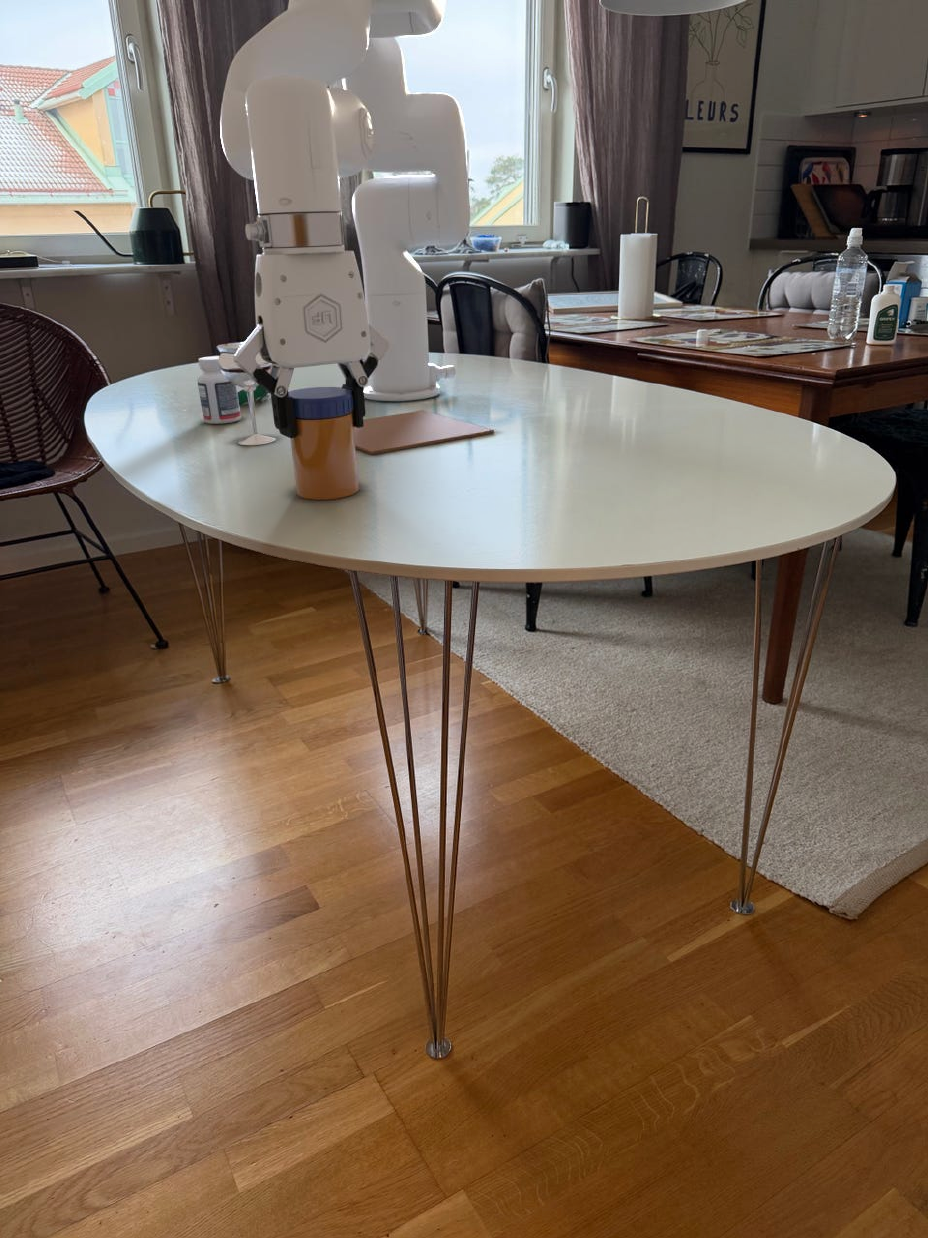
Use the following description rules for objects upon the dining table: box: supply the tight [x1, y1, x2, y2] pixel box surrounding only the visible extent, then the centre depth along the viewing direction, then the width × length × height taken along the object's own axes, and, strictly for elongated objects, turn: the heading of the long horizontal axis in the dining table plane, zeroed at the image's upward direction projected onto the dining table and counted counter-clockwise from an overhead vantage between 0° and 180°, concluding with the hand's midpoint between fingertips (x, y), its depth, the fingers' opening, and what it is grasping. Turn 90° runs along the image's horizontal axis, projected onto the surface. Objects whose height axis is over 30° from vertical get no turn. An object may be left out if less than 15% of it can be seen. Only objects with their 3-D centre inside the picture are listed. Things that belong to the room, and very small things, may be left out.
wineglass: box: [216, 341, 277, 446], centre depth 109 cm, size 7×7×12 cm
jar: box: [290, 412, 360, 501], centre depth 87 cm, size 6×6×10 cm
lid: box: [288, 386, 354, 419], centre depth 85 cm, size 7×7×2 cm
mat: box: [354, 409, 495, 455], centre depth 114 cm, size 18×18×1 cm
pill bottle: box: [196, 355, 242, 425], centre depth 122 cm, size 5×5×9 cm
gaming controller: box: [237, 385, 271, 407], centre depth 138 cm, size 9×4×6 cm
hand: (321, 428), depth 86 cm, fingers closed on lid, 6 cm apart
